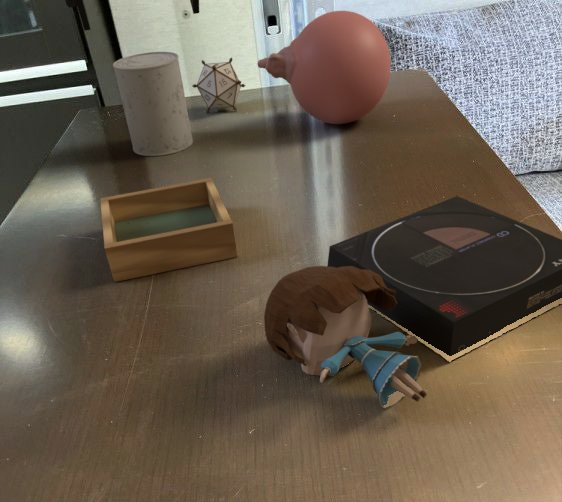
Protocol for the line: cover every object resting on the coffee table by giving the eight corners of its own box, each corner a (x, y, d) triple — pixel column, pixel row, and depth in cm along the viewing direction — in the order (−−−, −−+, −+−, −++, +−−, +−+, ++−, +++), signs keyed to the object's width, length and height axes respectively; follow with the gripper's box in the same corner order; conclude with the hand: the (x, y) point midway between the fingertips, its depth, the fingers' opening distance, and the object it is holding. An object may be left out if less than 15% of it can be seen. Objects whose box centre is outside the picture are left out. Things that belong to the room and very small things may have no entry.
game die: (214, 131, 112) (180, 82, 110) (252, 104, 113) (219, 54, 111) (219, 118, 104) (182, 64, 102) (259, 89, 104) (224, 35, 102)
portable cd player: (449, 228, 68) (452, 194, 66) (584, 292, 57) (594, 253, 54) (327, 279, 62) (325, 243, 60) (449, 362, 51) (454, 322, 48)
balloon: (269, 111, 107) (259, 8, 97) (387, 103, 104) (389, -3, 94) (258, 143, 95) (246, 30, 85) (391, 135, 92) (394, 17, 83)
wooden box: (109, 229, 76) (100, 198, 73) (216, 208, 78) (211, 177, 75) (114, 282, 66) (104, 248, 63) (237, 256, 68) (232, 223, 65)
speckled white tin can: (172, 130, 103) (157, 48, 96) (205, 142, 97) (190, 56, 89) (122, 147, 99) (101, 63, 91) (152, 161, 93) (132, 72, 85)
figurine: (444, 414, 51) (319, 316, 58) (494, 320, 45) (349, 224, 53) (353, 466, 44) (224, 347, 51) (399, 362, 38) (246, 244, 45)
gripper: (-20, -98, 54) (44, 55, 75) (257, -132, 58) (244, 24, 79) (-37, -174, 55) (31, -1, 76) (238, -203, 59) (230, -30, 79)
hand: (140, 12), depth 77 cm, fingers open, 13 cm apart
